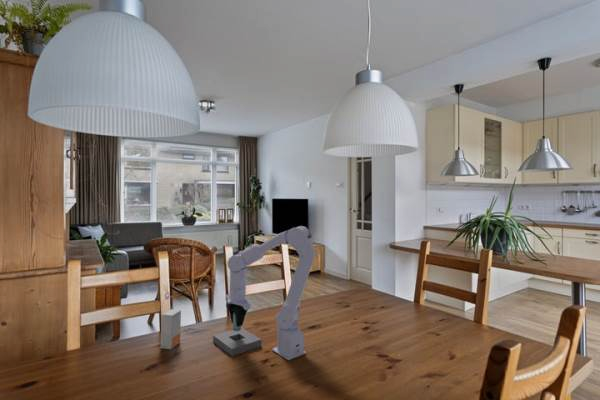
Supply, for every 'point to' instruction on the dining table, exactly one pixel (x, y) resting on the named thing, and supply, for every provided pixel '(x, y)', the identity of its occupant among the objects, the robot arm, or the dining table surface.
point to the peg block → (236, 341)
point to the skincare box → (170, 328)
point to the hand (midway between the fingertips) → (237, 324)
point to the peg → (235, 327)
